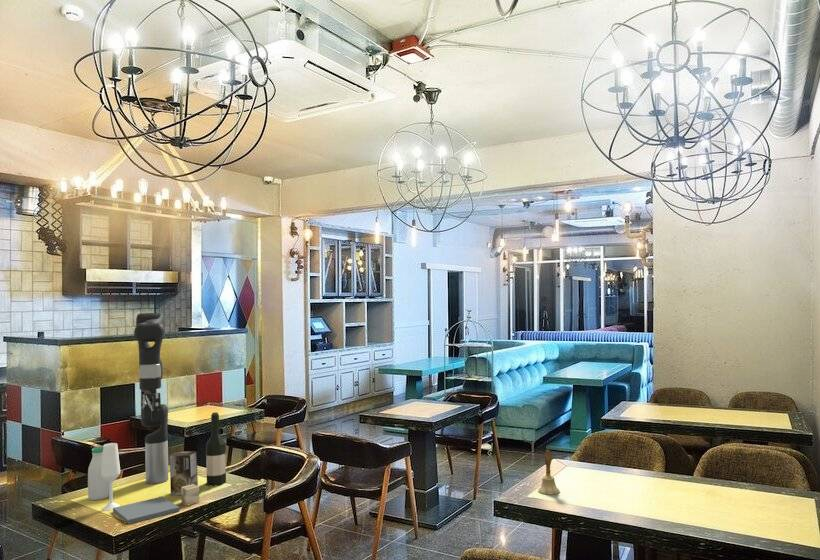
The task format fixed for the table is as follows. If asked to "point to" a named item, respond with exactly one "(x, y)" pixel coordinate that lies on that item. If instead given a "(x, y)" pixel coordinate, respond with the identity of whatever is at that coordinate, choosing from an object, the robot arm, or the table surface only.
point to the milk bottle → (97, 477)
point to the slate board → (145, 510)
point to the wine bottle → (215, 454)
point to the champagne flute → (110, 470)
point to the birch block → (190, 494)
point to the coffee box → (183, 470)
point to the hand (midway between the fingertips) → (150, 419)
